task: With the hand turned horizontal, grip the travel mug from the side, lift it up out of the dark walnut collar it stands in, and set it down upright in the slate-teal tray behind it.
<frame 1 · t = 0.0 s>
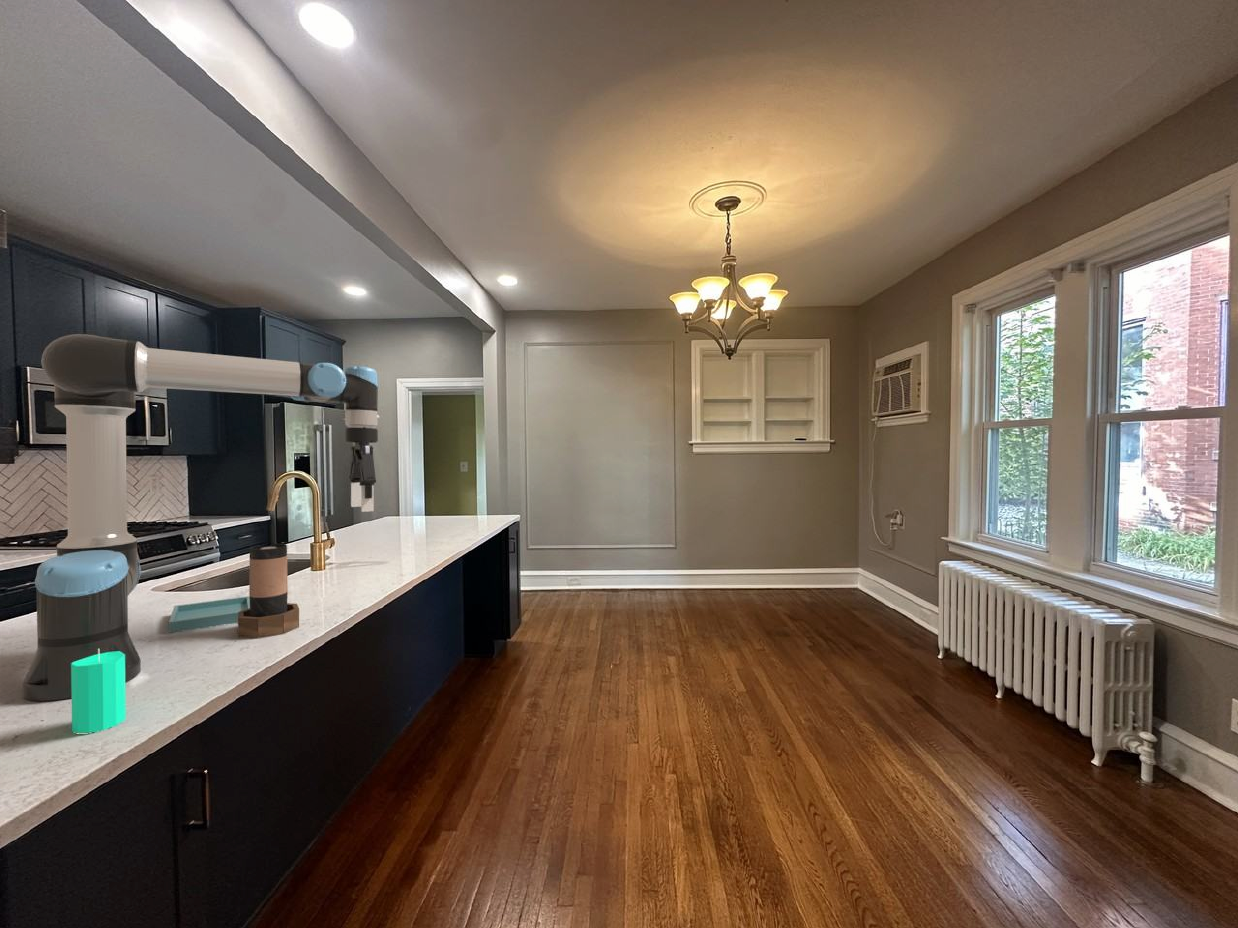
hand: (361, 509, 136), 28 cm above the countertop, tool pointing down, fingers open, 13 cm apart
travel mug: (269, 629, 126), resting in walnut collar
slate tray: (212, 617, 133), on the countertop
candle: (99, 725, 82), on the countertop
walnut collar: (269, 628, 126), on the countertop
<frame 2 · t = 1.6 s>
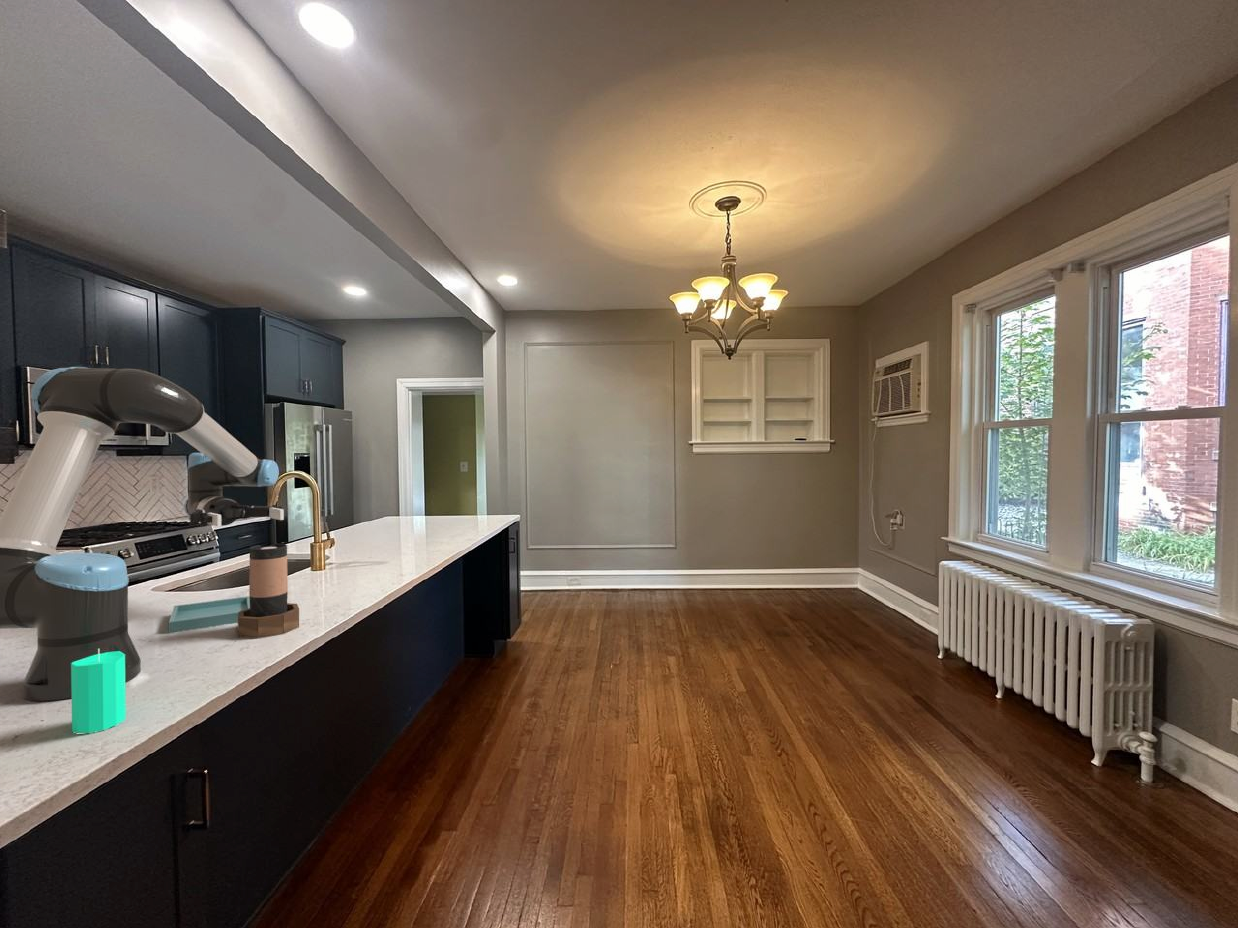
hand: (252, 517, 130), 26 cm above the countertop, tool horizontal, fingers open, 13 cm apart
nothing on the countertop moved.
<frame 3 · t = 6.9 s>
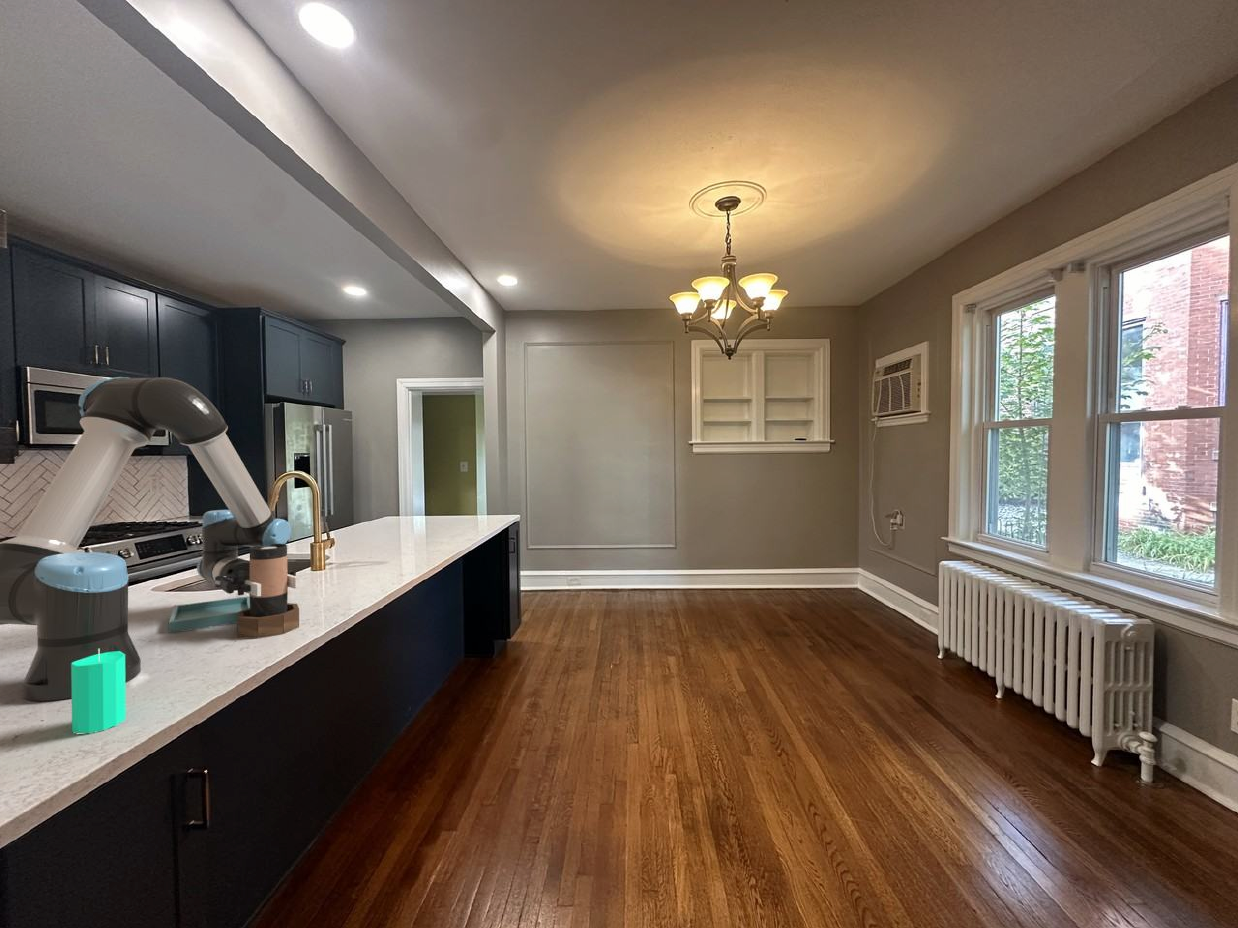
hand: (278, 586, 123), 11 cm above the countertop, tool horizontal, fingers closed on travel mug, 7 cm apart
travel mug: (269, 629, 126), resting in walnut collar, touching gripper
everything else where it was.
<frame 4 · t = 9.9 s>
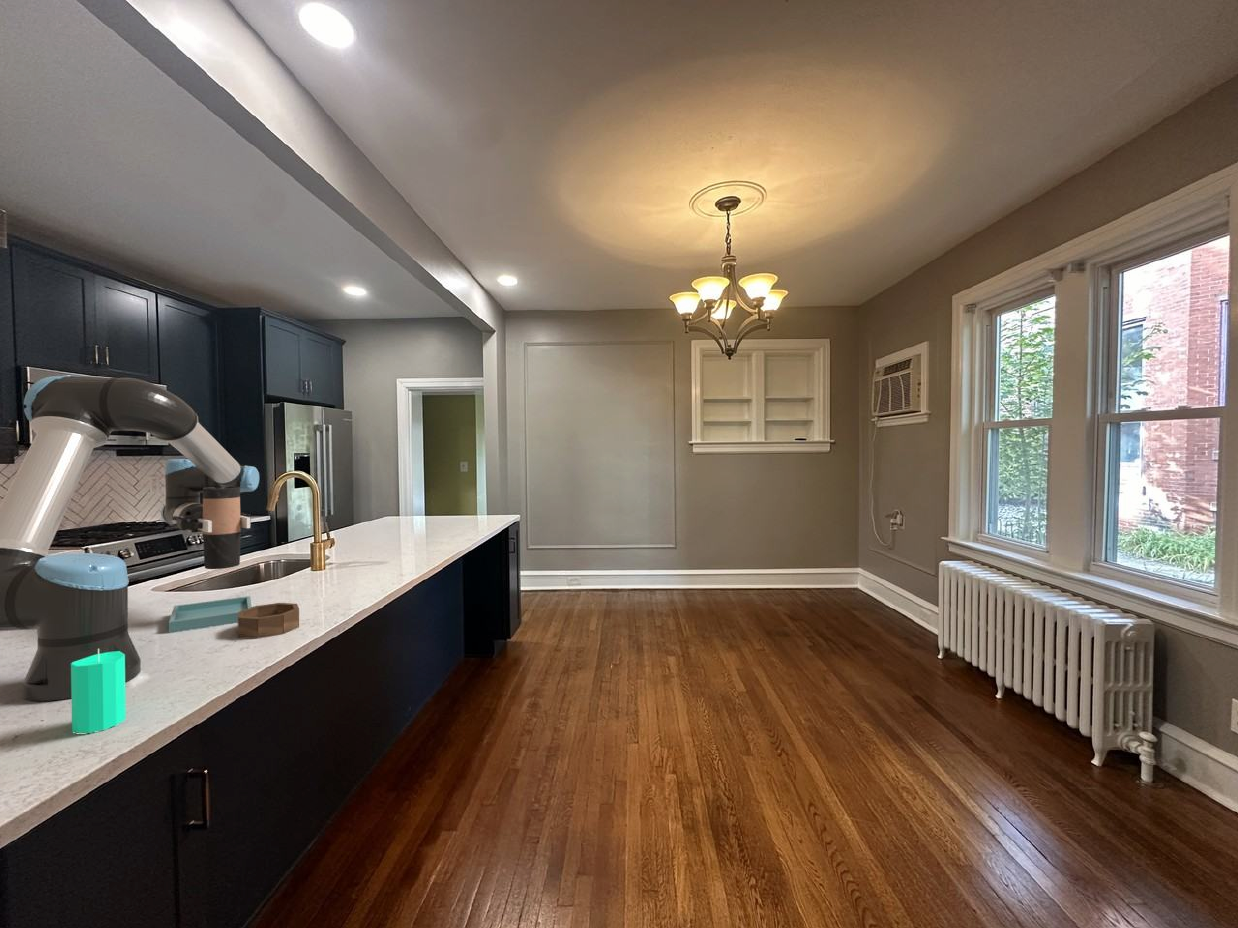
hand: (229, 524, 129), 24 cm above the countertop, tool horizontal, fingers closed on travel mug, 7 cm apart
travel mug: (222, 566, 133), point 13 cm above the countertop, touching gripper
everything else where it was.
when the fingers open (13 cm above the countertop, at t = 13.1 s): travel mug stays where it is, resting on slate tray.
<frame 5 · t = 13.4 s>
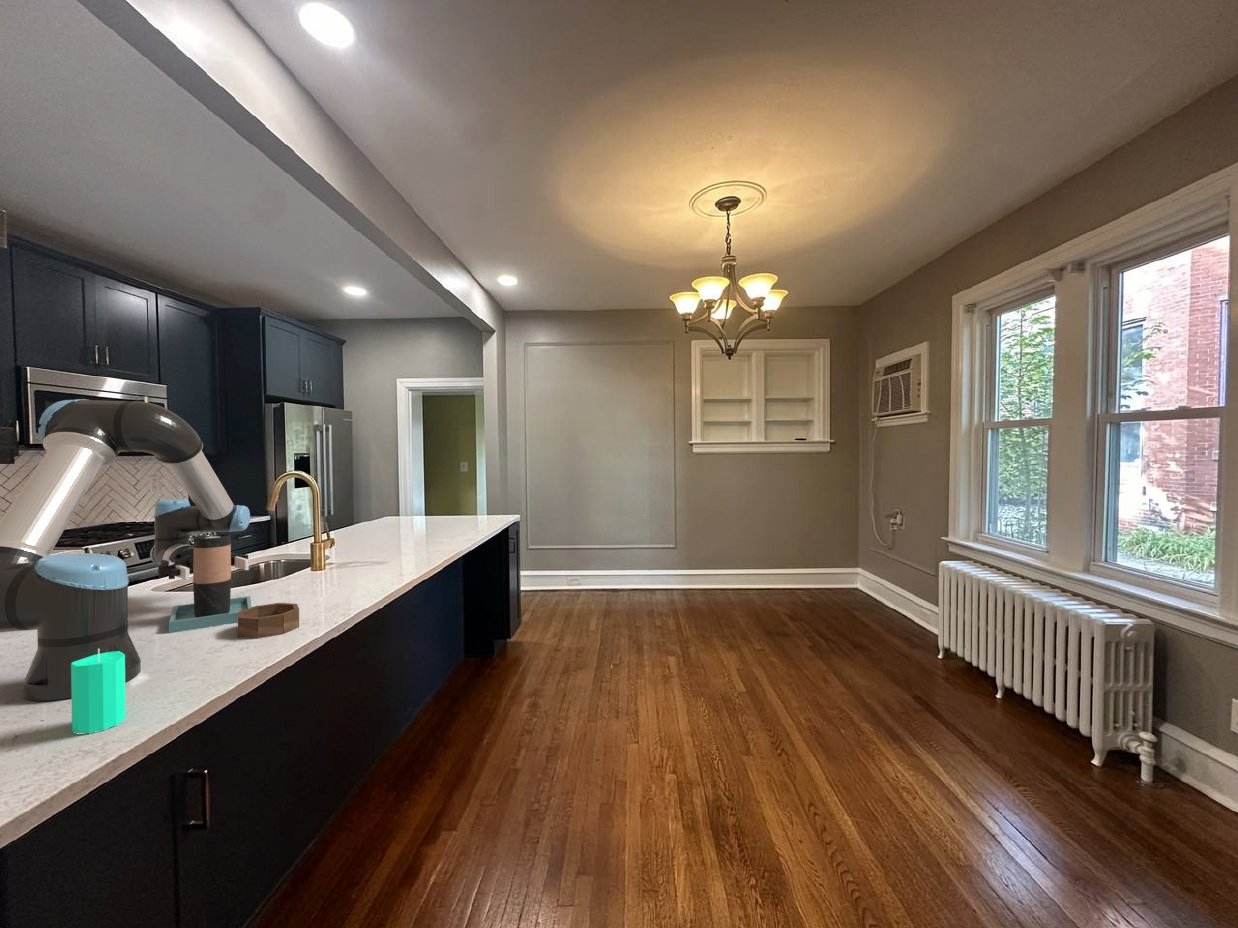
hand: (218, 569, 131), 13 cm above the countertop, tool horizontal, fingers open, 12 cm apart
travel mug: (212, 614, 133), point 1 cm above the countertop, touching slate tray
everything else where it was.
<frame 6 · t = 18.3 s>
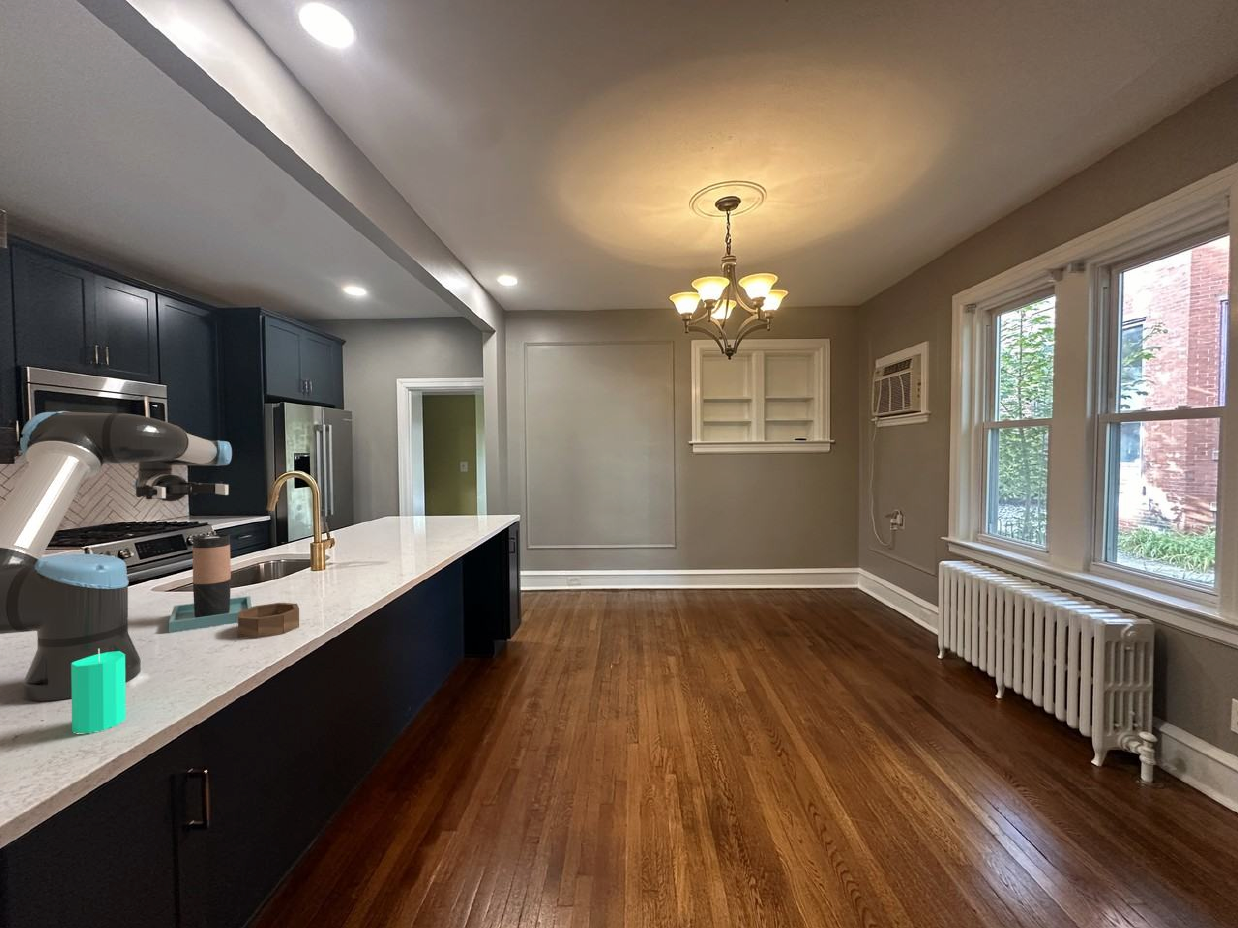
hand: (196, 491, 138), 32 cm above the countertop, tool horizontal, fingers open, 13 cm apart
nothing on the countertop moved.
at the end: travel mug inside the target area on the slate tray (0.1 cm from its centre), point 0.8 cm above the slate tray's base; travel mug tilted 0°; the gripper is holding nothing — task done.
